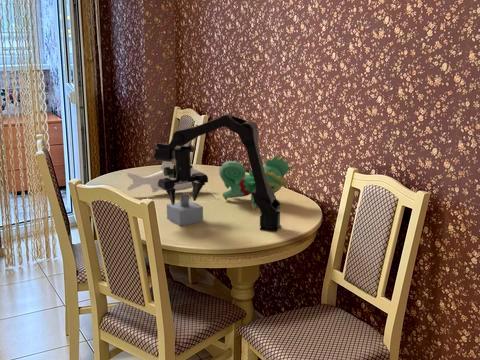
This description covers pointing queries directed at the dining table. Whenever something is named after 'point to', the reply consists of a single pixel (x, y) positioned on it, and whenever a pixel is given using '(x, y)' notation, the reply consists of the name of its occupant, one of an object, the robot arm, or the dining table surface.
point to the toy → (252, 178)
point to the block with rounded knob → (184, 211)
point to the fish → (155, 178)
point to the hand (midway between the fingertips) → (183, 202)
